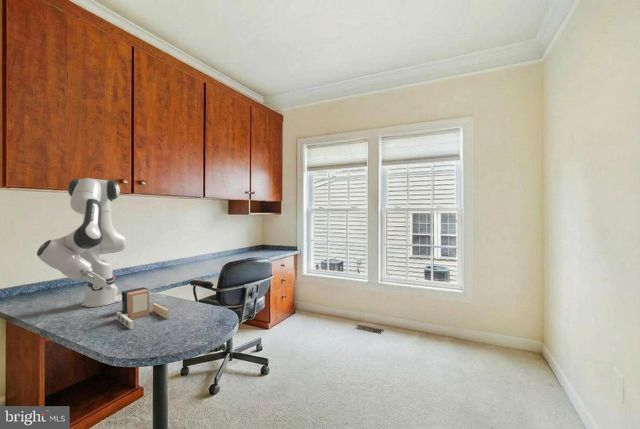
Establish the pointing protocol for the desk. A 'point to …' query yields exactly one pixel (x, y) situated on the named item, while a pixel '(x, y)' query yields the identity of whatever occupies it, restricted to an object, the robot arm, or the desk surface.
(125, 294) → the small box
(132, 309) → the carton
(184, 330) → the desk surface
